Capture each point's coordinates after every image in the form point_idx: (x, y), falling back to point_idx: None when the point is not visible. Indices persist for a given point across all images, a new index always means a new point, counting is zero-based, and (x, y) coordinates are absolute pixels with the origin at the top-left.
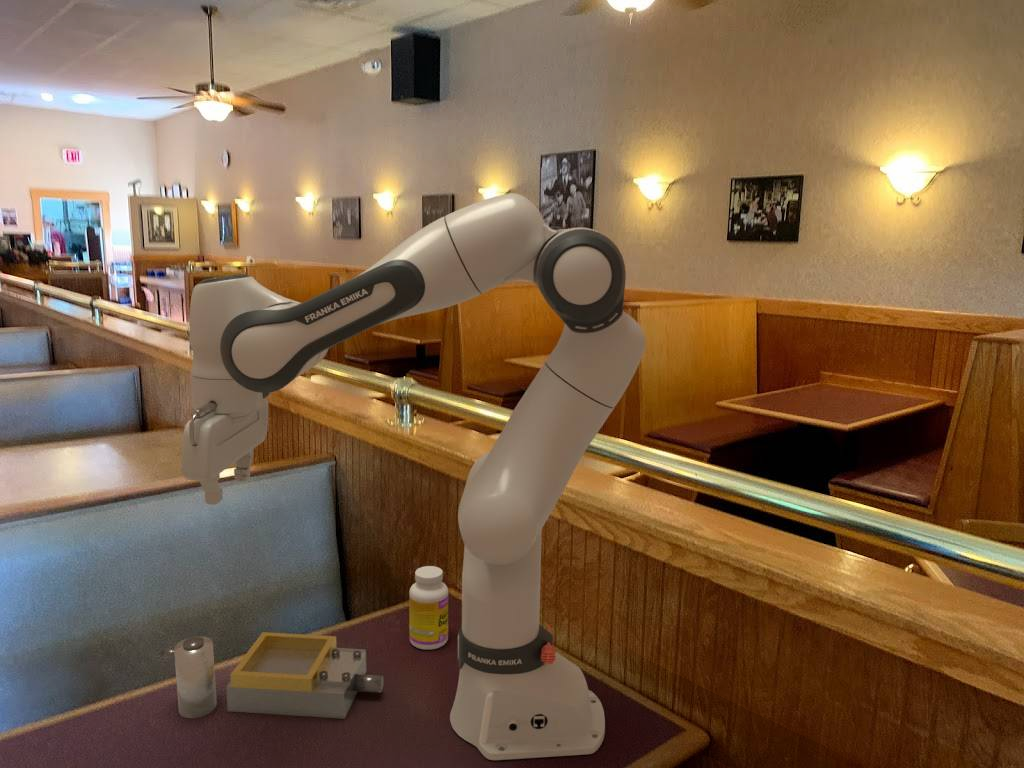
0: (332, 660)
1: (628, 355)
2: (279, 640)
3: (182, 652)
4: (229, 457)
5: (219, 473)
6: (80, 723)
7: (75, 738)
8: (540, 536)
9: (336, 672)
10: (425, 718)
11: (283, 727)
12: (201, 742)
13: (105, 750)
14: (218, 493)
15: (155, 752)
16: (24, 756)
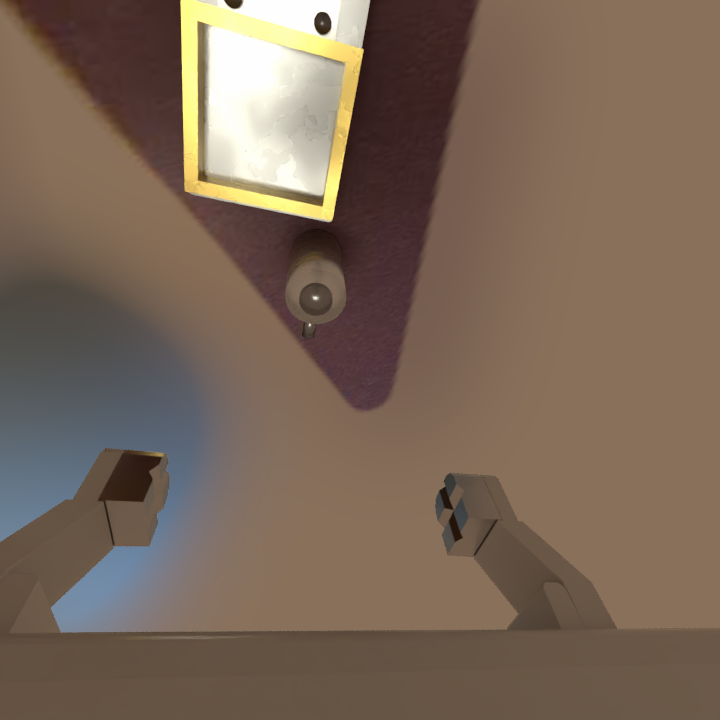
0: (257, 5)
1: None
2: (200, 150)
3: (336, 308)
4: (556, 718)
5: (638, 630)
6: (338, 370)
7: (365, 365)
8: None
9: None
10: None
11: (379, 107)
12: (395, 229)
13: (391, 331)
14: (511, 513)
15: (405, 279)
16: (387, 394)
